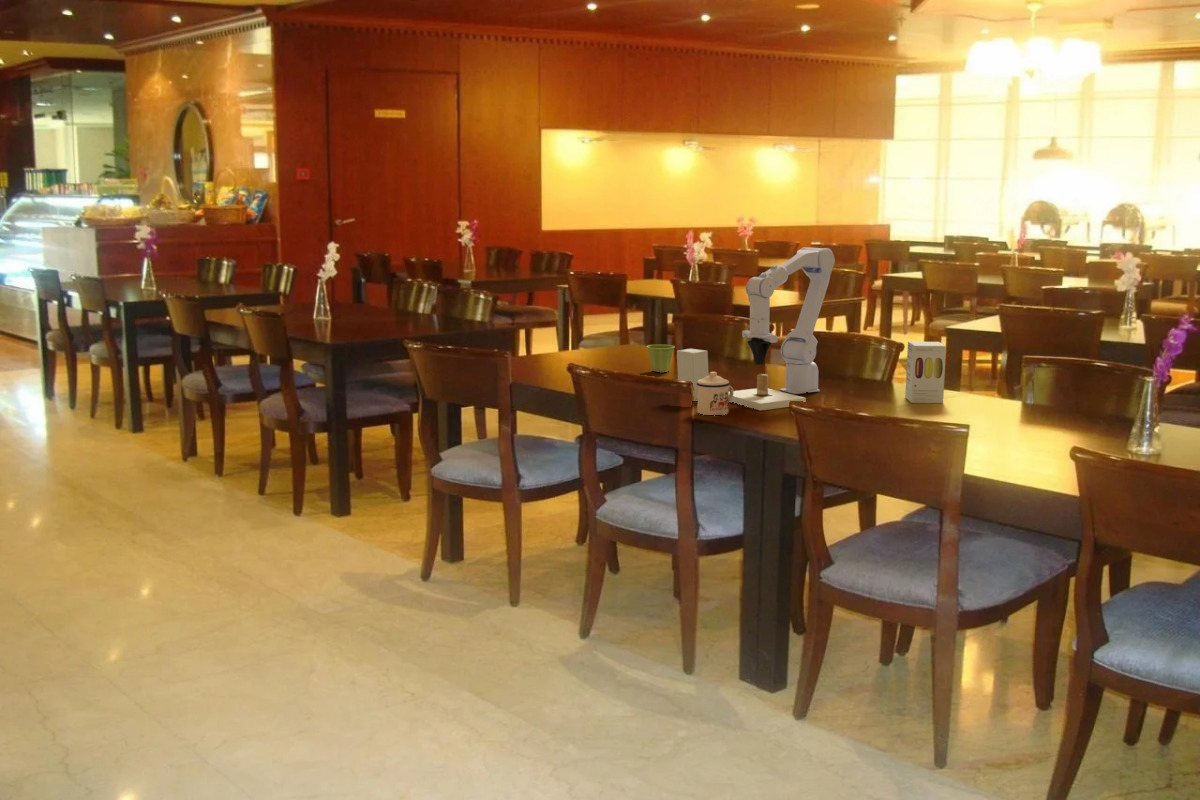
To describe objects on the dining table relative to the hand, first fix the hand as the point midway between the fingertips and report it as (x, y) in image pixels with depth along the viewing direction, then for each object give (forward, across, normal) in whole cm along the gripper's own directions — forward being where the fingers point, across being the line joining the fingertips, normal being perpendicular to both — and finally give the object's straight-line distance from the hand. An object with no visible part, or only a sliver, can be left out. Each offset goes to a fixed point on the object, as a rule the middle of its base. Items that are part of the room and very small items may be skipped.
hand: (759, 364), depth 355 cm
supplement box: (+11, +28, +38) cm, 49 cm away
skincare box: (+10, -9, -17) cm, 22 cm away
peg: (+10, +5, -2) cm, 12 cm away
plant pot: (+11, -57, +2) cm, 58 cm away
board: (+10, +5, -2) cm, 12 cm away
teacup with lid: (+10, +10, -22) cm, 27 cm away
